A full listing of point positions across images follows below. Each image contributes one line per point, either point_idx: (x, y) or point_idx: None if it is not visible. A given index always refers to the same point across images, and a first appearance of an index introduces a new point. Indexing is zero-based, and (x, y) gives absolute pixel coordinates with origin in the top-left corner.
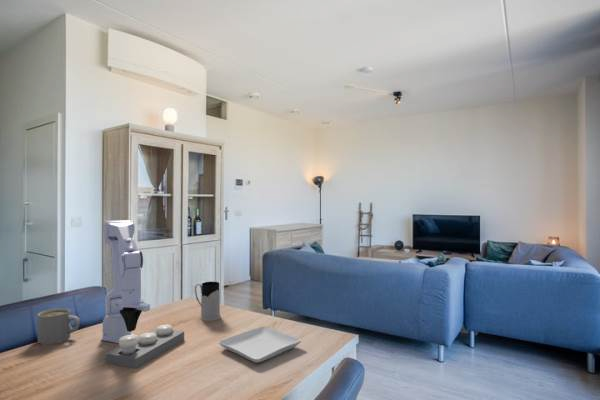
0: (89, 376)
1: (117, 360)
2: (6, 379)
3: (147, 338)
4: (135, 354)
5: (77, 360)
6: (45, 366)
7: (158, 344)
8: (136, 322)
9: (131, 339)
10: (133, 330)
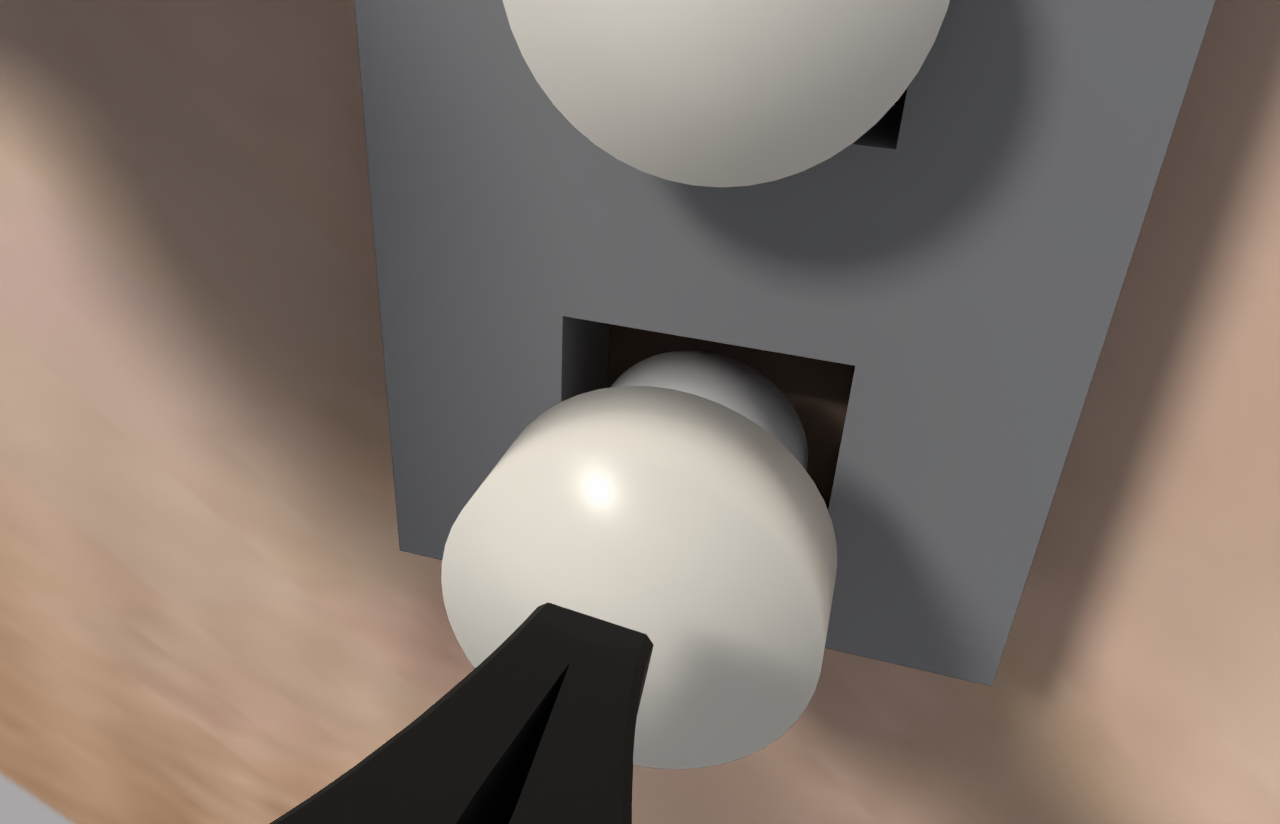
0: None
1: None
2: (14, 779)
3: (829, 144)
4: (887, 553)
5: (120, 456)
6: (7, 595)
7: (1128, 42)
8: (621, 808)
9: (738, 688)
10: (643, 686)
